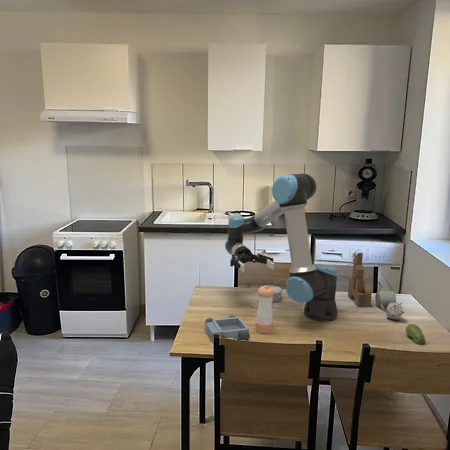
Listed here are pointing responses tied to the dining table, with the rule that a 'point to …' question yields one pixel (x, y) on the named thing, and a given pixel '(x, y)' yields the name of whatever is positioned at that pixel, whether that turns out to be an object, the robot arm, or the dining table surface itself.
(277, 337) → the dining table surface
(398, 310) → the game die
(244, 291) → the dining table surface
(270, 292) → the pepper shaker
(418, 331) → the green toy animal
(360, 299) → the wooden toy
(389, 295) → the grey cylindrical jar
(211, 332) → the chassis
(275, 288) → the ramekin
